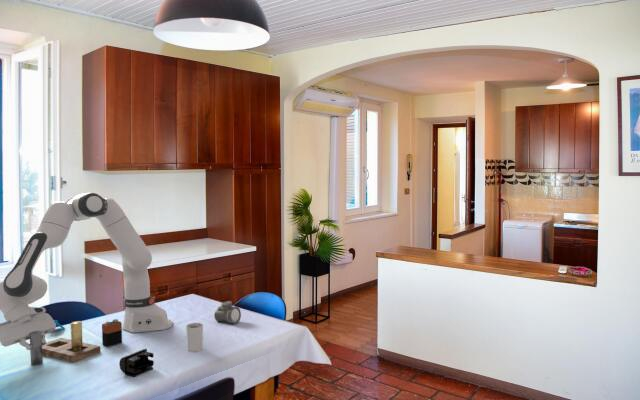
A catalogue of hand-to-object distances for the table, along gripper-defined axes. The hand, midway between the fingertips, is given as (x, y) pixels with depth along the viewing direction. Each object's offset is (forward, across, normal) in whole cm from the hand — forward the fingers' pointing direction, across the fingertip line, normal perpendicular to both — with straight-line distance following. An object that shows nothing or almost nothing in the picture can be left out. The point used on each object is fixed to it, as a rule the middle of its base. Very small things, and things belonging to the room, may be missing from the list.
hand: (37, 346), depth 188 cm
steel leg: (+4, 0, +5) cm, 7 cm away
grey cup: (+36, +38, -26) cm, 59 cm away
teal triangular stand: (-17, +29, +27) cm, 44 cm away
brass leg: (+8, +13, +1) cm, 15 cm away
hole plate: (+4, +13, +5) cm, 15 cm away
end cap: (+33, +12, -23) cm, 42 cm away
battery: (+10, +28, 0) cm, 30 cm away
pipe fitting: (+28, +74, -18) cm, 81 cm away
